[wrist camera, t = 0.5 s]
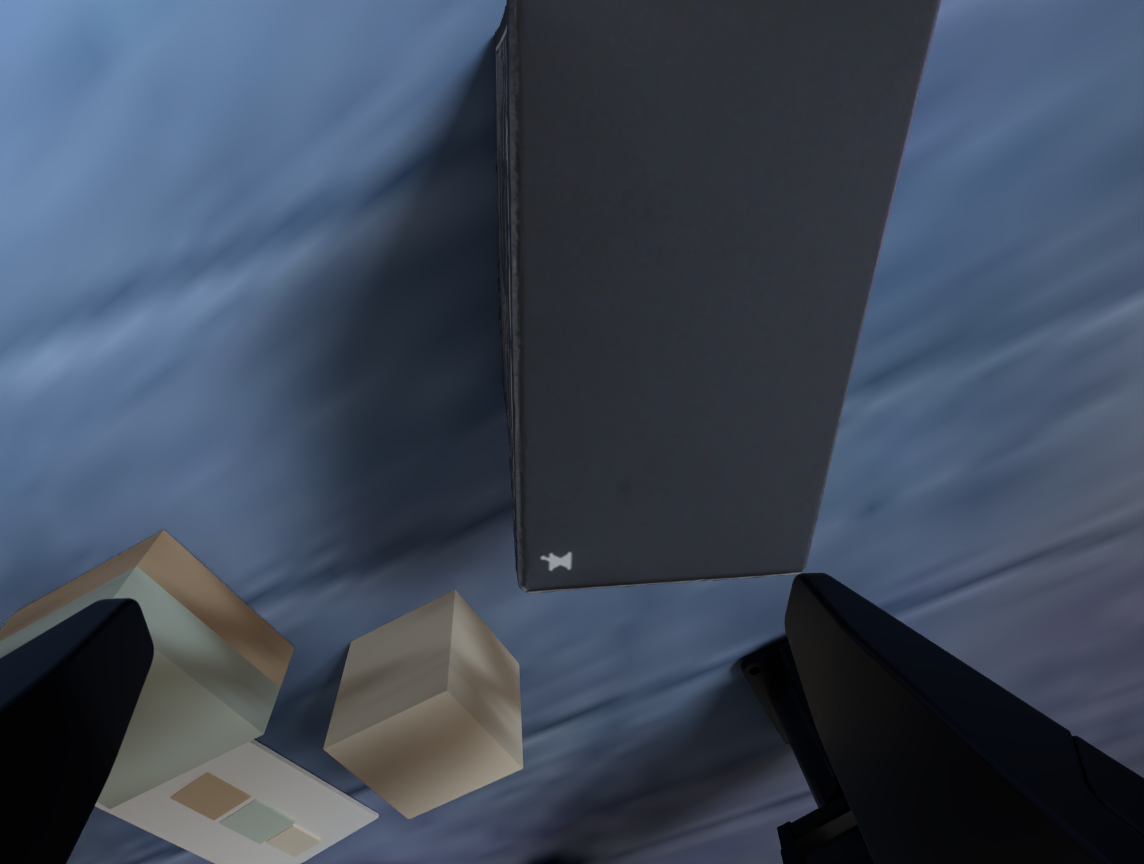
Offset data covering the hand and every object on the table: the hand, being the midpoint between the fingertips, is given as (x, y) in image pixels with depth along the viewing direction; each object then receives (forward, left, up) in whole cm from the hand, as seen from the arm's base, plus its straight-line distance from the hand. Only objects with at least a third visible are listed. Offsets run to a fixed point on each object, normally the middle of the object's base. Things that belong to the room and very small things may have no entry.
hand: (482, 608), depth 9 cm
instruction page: (-14, +23, -13) cm, 30 cm away
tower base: (-4, +18, -13) cm, 23 cm away
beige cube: (-11, +10, -13) cm, 20 cm away
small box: (+1, -4, -14) cm, 14 cm away
